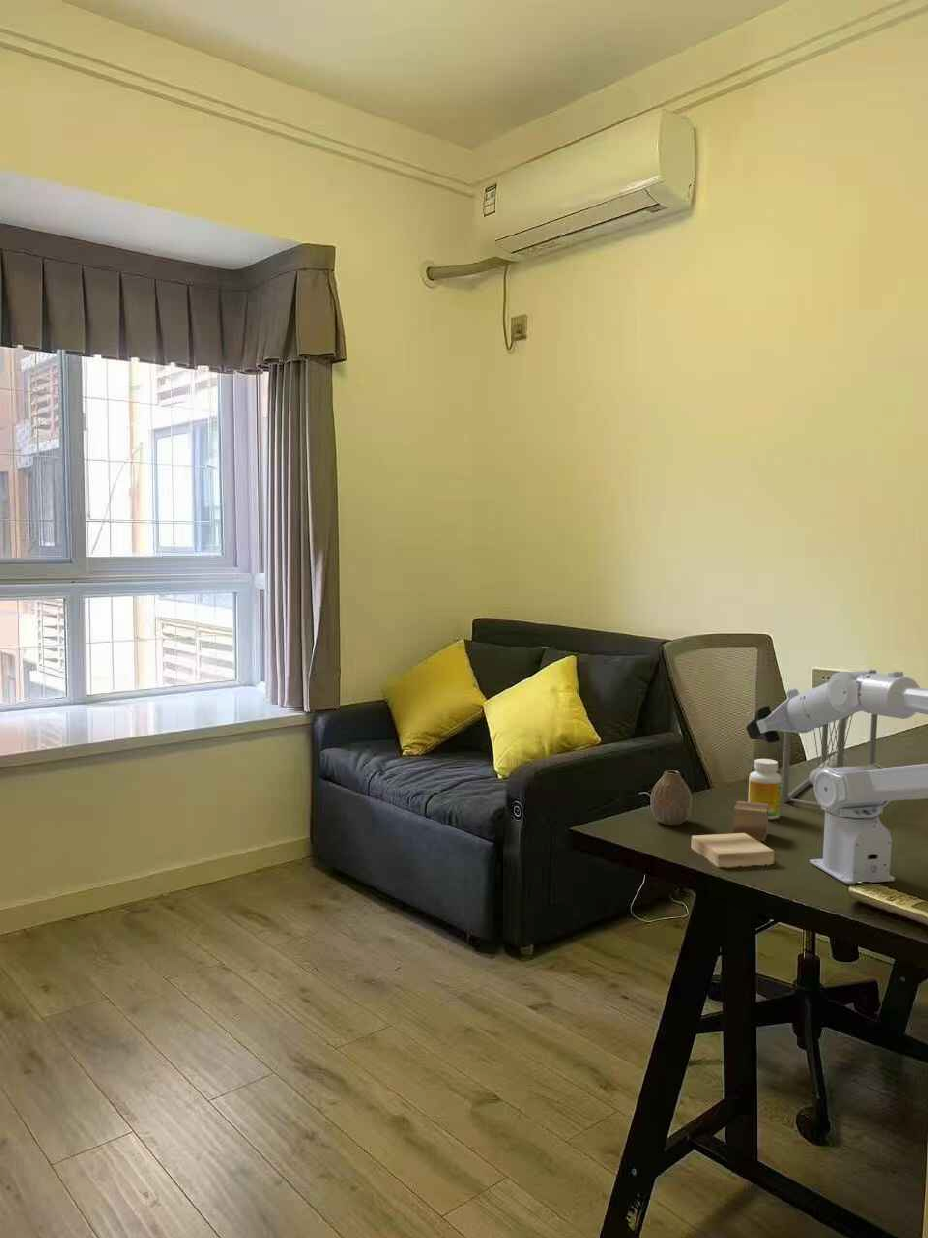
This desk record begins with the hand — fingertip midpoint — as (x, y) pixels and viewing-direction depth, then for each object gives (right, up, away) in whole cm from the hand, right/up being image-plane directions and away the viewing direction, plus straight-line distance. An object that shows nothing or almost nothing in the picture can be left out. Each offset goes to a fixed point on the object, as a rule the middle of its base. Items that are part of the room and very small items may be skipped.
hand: (768, 726), depth 162 cm
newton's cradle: (+20, -16, +27) cm, 37 cm away
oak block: (-10, -19, -12) cm, 24 cm away
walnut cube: (-4, -18, -2) cm, 18 cm away
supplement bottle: (+2, -17, +10) cm, 19 cm away
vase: (-15, -17, +5) cm, 23 cm away
